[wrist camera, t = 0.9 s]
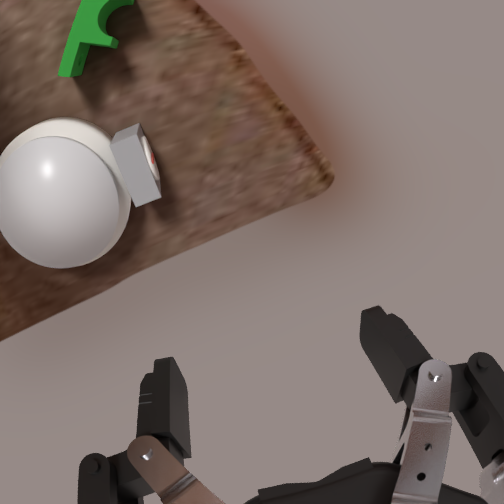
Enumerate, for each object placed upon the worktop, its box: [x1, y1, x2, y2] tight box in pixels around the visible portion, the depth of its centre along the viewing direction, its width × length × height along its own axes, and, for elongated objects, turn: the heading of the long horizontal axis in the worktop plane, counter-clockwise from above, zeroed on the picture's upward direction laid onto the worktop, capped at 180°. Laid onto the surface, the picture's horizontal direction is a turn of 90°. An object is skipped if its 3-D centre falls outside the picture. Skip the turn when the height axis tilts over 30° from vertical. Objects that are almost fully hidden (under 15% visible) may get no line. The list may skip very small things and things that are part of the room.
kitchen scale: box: [0, 117, 161, 268], centre depth 25 cm, size 18×15×5 cm
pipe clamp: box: [58, 0, 135, 77], centre depth 18 cm, size 11×4×5 cm, turn 159°
